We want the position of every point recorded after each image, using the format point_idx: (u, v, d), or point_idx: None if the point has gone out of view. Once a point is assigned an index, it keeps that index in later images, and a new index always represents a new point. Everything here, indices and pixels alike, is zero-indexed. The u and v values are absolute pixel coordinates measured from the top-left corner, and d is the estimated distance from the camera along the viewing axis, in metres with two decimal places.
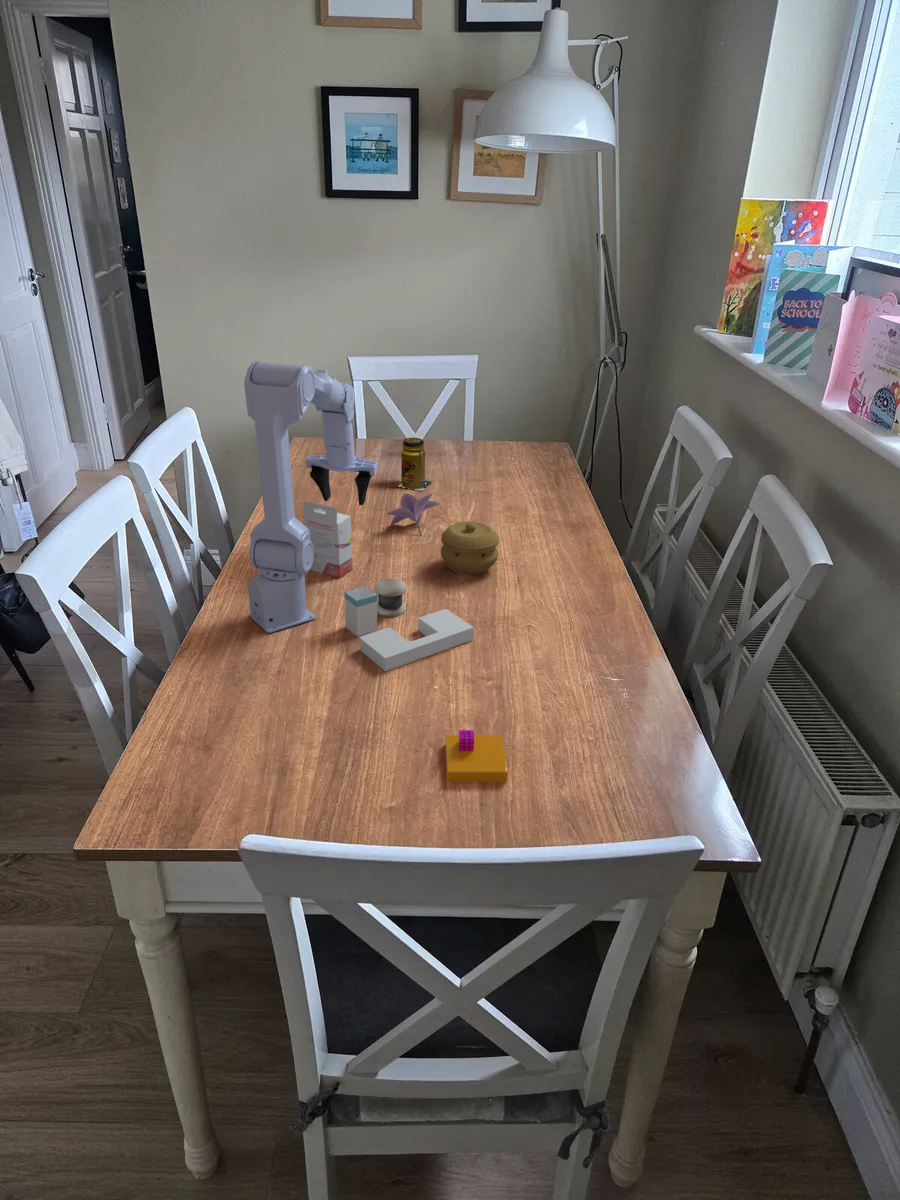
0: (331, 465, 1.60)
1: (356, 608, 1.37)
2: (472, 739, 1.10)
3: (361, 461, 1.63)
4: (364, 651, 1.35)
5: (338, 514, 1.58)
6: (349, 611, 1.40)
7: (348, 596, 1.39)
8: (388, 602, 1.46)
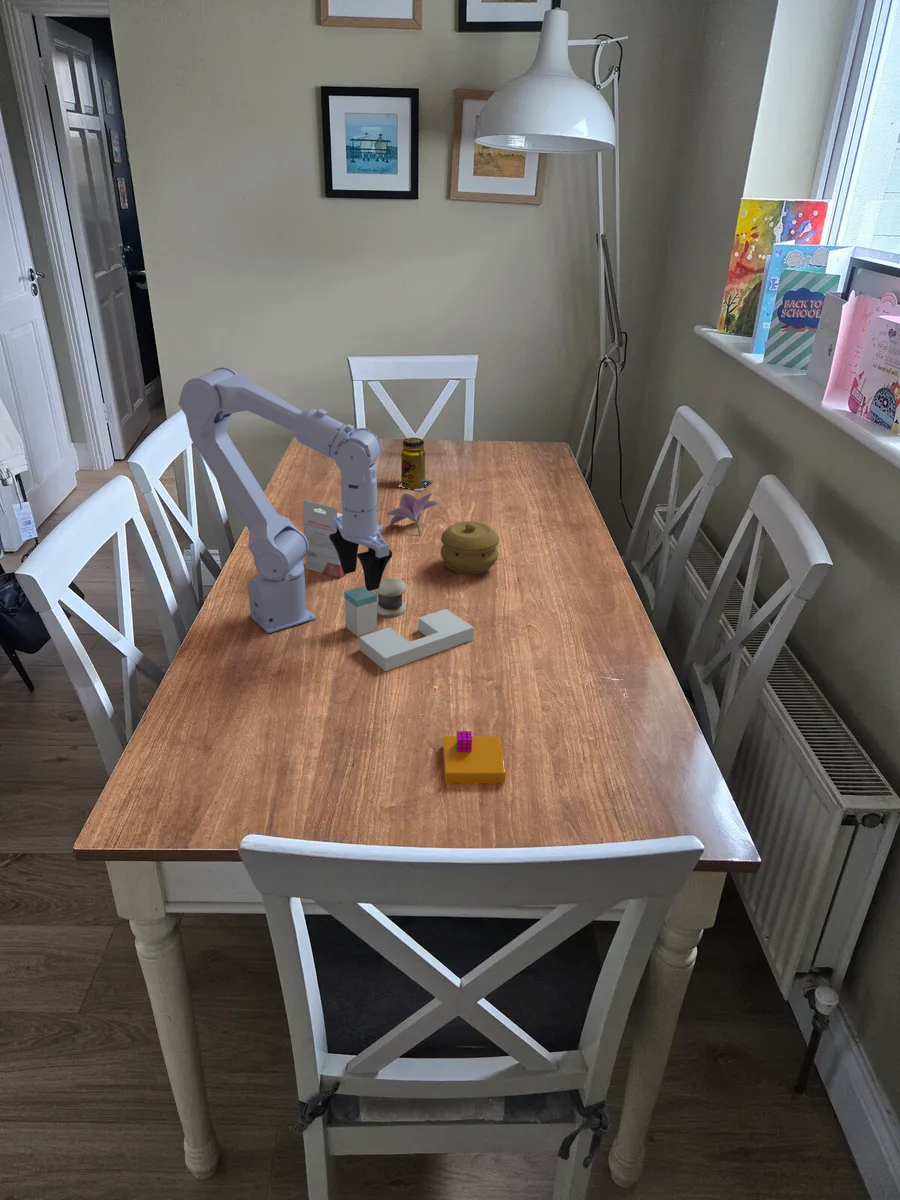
0: (342, 530, 1.33)
1: (356, 608, 1.37)
2: (470, 740, 1.09)
3: (379, 538, 1.32)
4: (364, 651, 1.35)
5: (338, 514, 1.58)
6: (349, 611, 1.40)
7: (347, 596, 1.39)
8: (388, 602, 1.46)
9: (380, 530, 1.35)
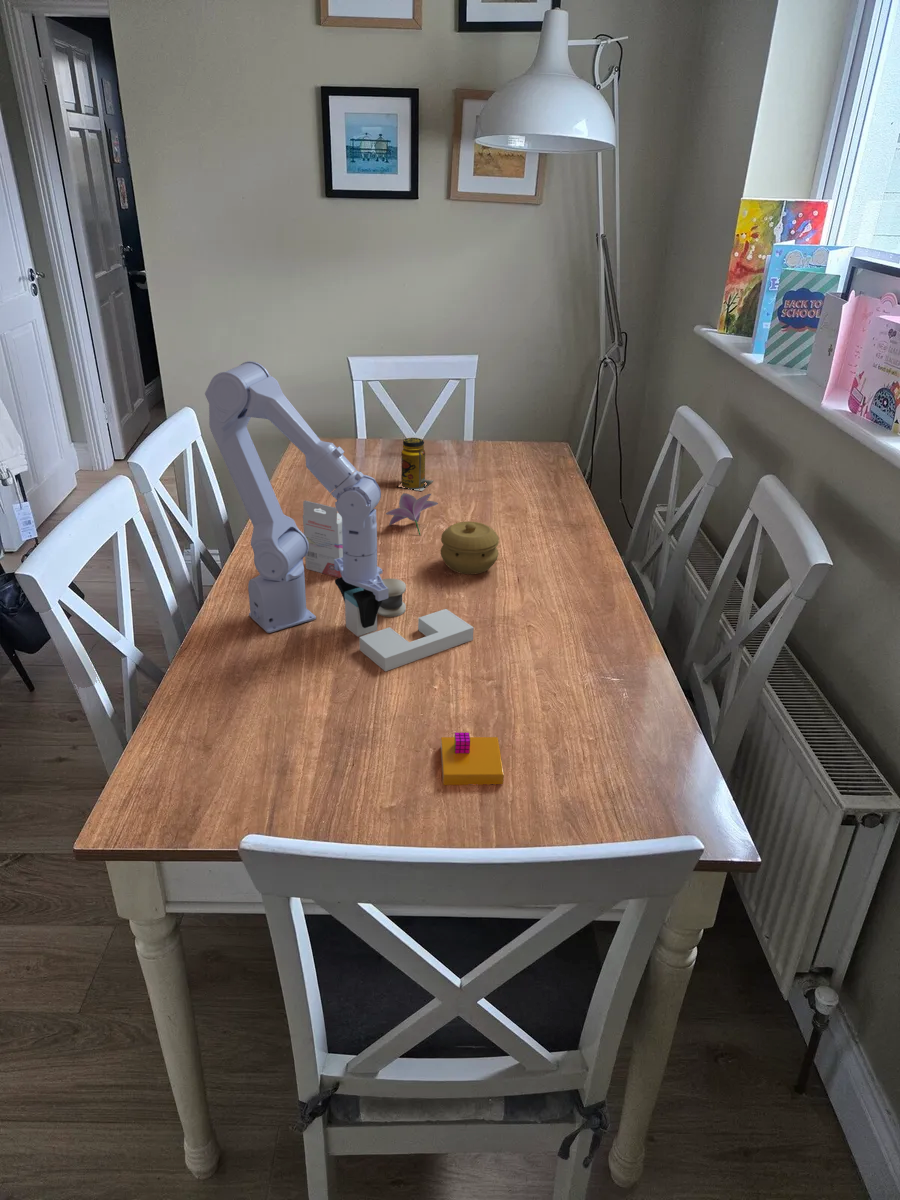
0: (343, 573, 1.36)
1: (356, 608, 1.37)
2: (468, 741, 1.09)
3: (379, 581, 1.35)
4: (364, 651, 1.35)
5: (338, 514, 1.58)
6: (349, 611, 1.40)
7: (348, 596, 1.39)
8: (388, 602, 1.46)
9: (380, 572, 1.38)
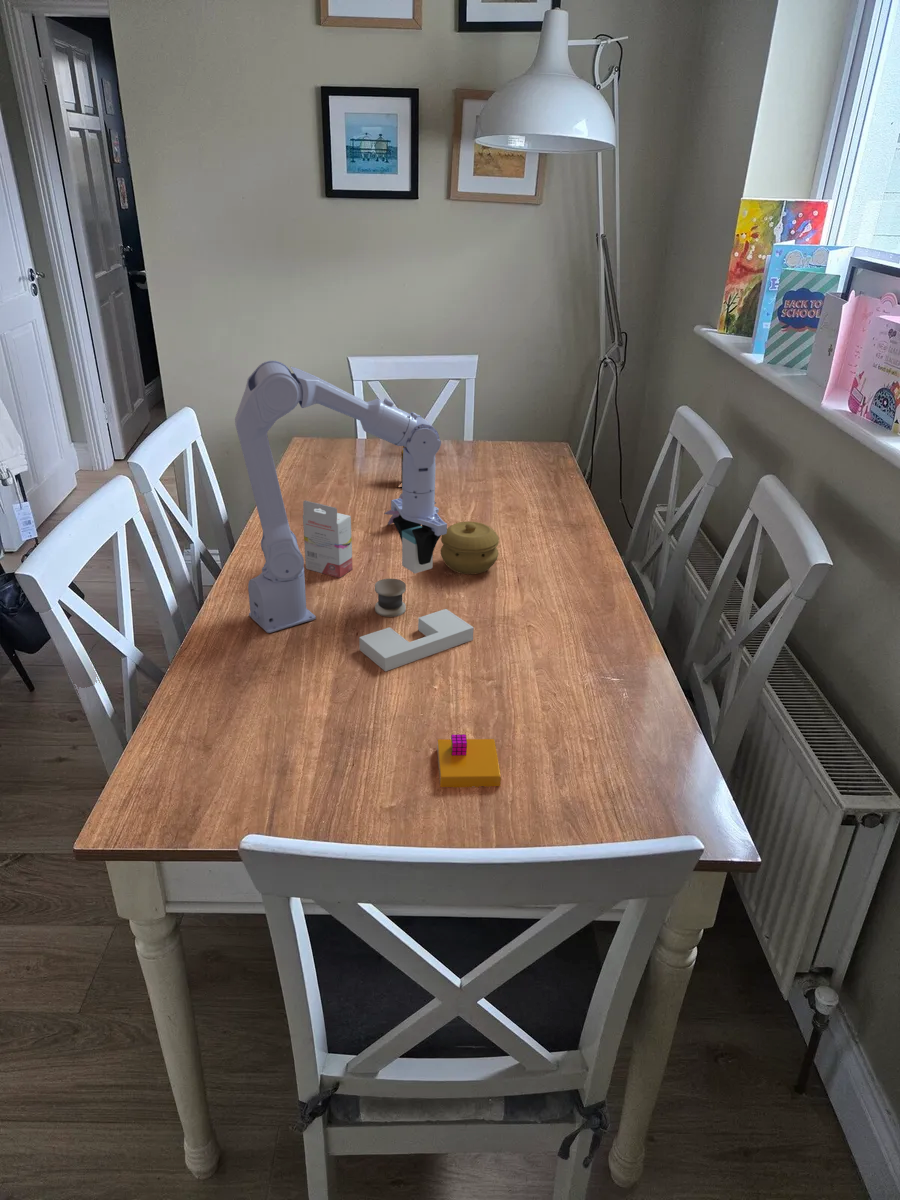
0: (402, 511, 1.43)
1: (414, 545, 1.43)
2: (465, 743, 1.09)
3: (437, 518, 1.42)
4: (364, 651, 1.35)
5: (338, 514, 1.58)
6: (406, 549, 1.46)
7: (405, 534, 1.45)
8: (388, 602, 1.46)
9: (436, 511, 1.45)
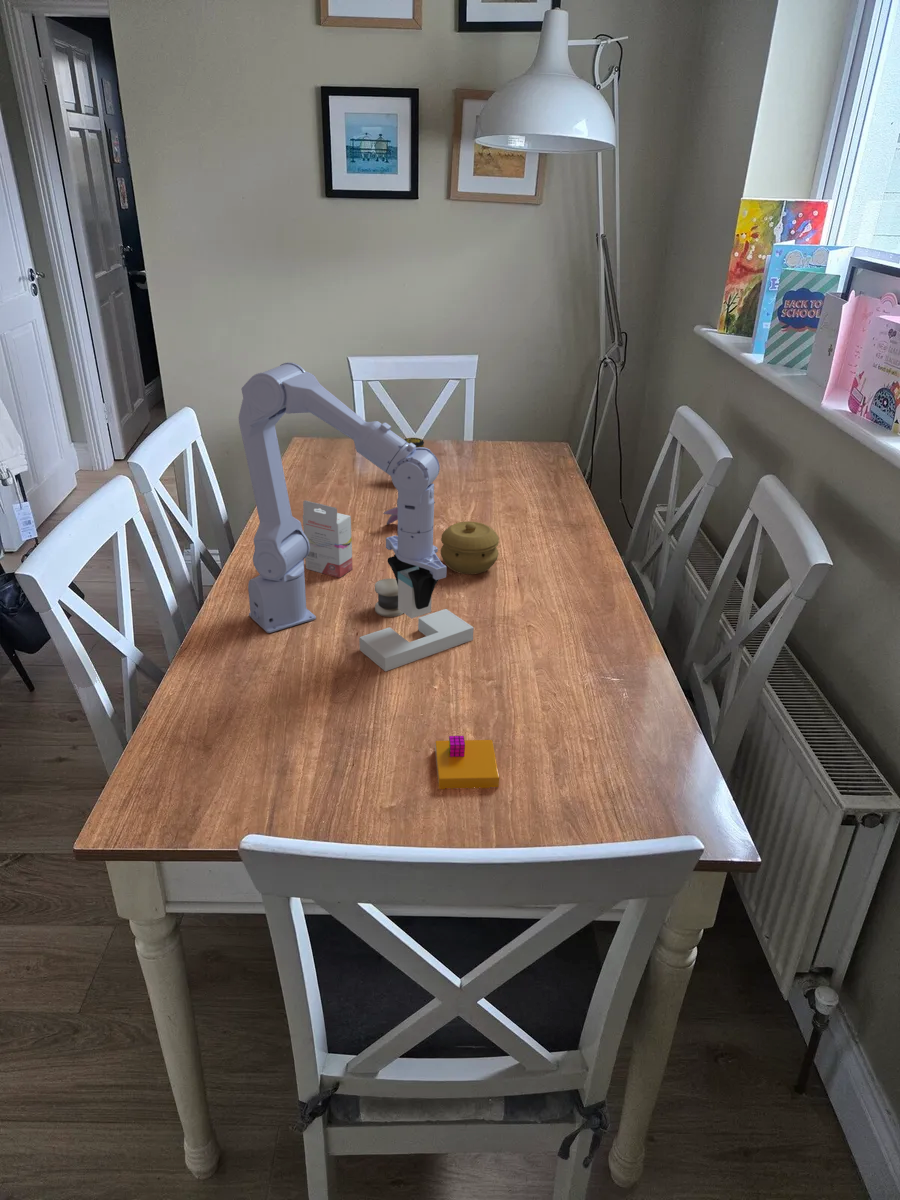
0: (397, 551, 1.30)
1: (411, 588, 1.31)
2: (463, 745, 1.08)
3: (436, 560, 1.29)
4: (364, 651, 1.35)
5: (338, 514, 1.58)
6: (402, 592, 1.33)
7: (401, 576, 1.32)
8: (388, 602, 1.46)
9: (435, 551, 1.32)
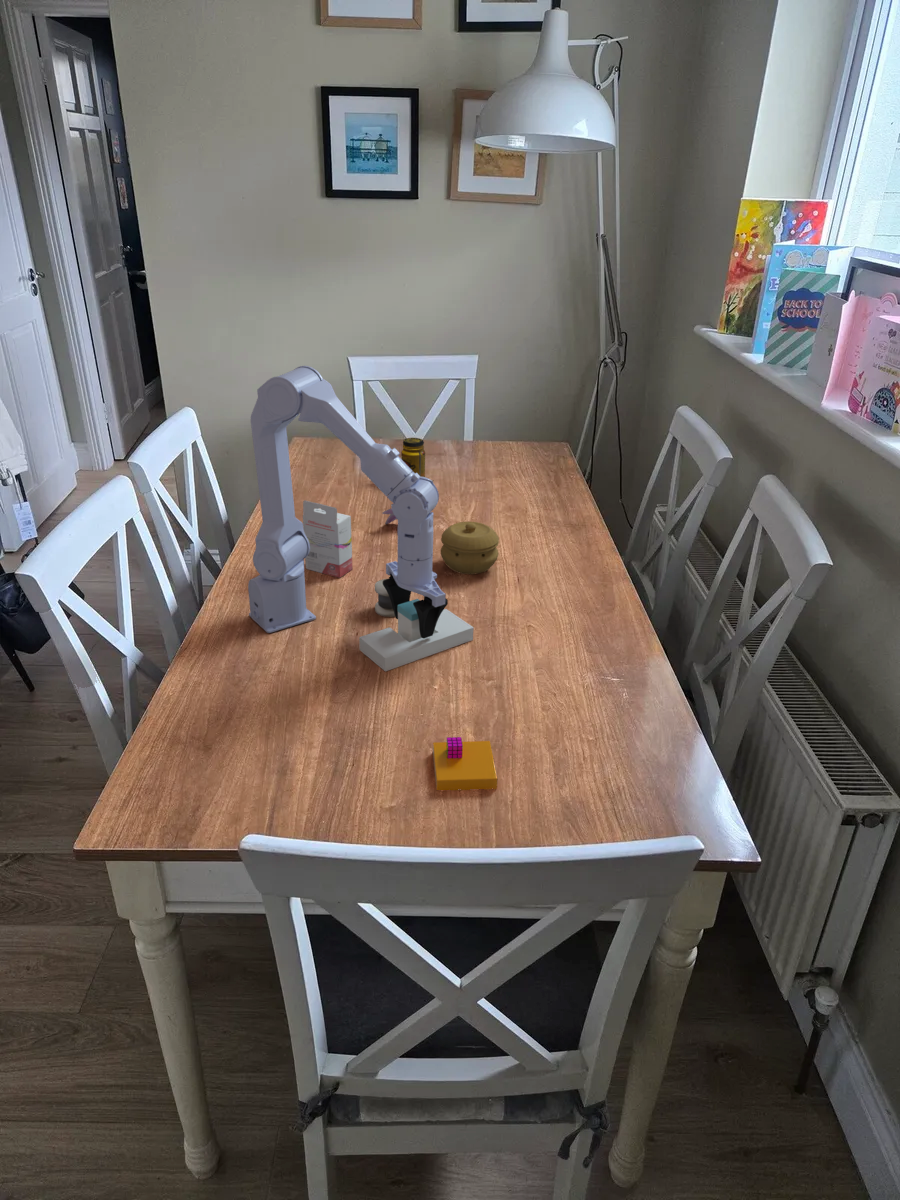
0: (397, 578, 1.32)
1: (411, 622, 1.34)
2: (460, 746, 1.08)
3: (435, 587, 1.31)
4: (364, 651, 1.35)
5: (338, 514, 1.58)
6: (402, 625, 1.36)
7: (401, 610, 1.35)
8: (388, 602, 1.46)
9: (434, 577, 1.34)
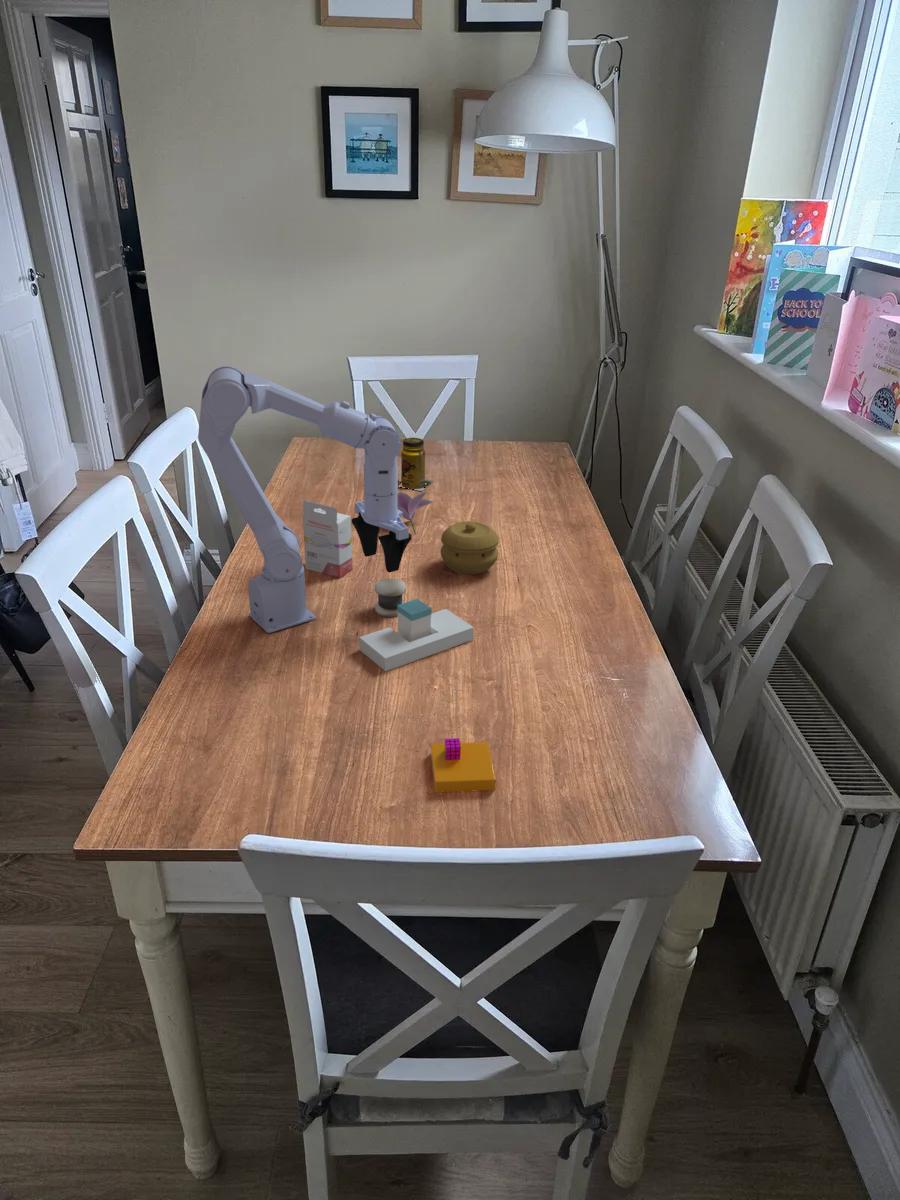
0: (364, 514, 1.39)
1: (411, 622, 1.34)
2: (458, 747, 1.08)
3: None
4: (364, 651, 1.35)
5: (338, 514, 1.58)
6: (402, 625, 1.36)
7: (401, 610, 1.35)
8: (388, 602, 1.46)
9: (400, 514, 1.41)
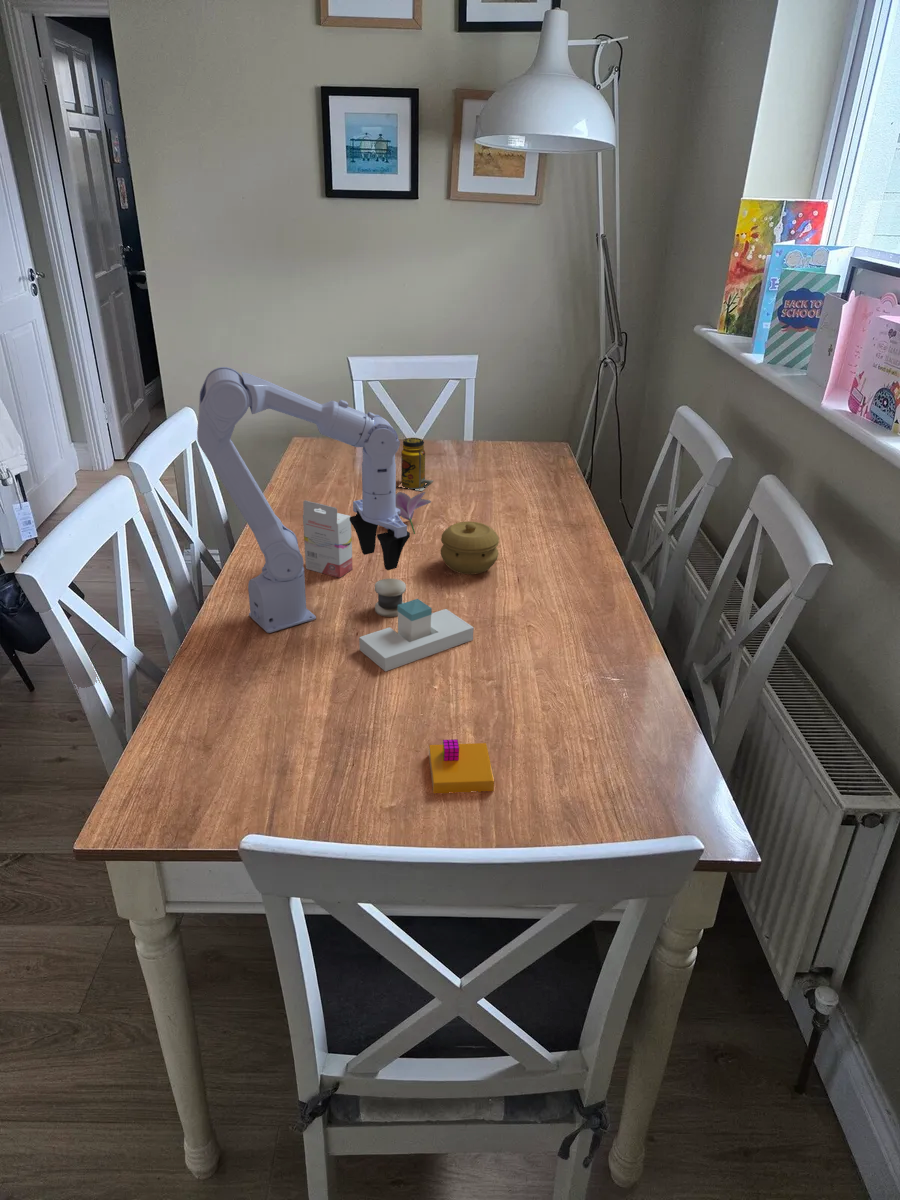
0: (362, 512, 1.40)
1: (411, 622, 1.34)
2: (457, 748, 1.08)
3: None
4: (364, 651, 1.35)
5: (338, 514, 1.58)
6: (402, 625, 1.36)
7: (401, 610, 1.35)
8: (388, 602, 1.46)
9: (398, 512, 1.42)
